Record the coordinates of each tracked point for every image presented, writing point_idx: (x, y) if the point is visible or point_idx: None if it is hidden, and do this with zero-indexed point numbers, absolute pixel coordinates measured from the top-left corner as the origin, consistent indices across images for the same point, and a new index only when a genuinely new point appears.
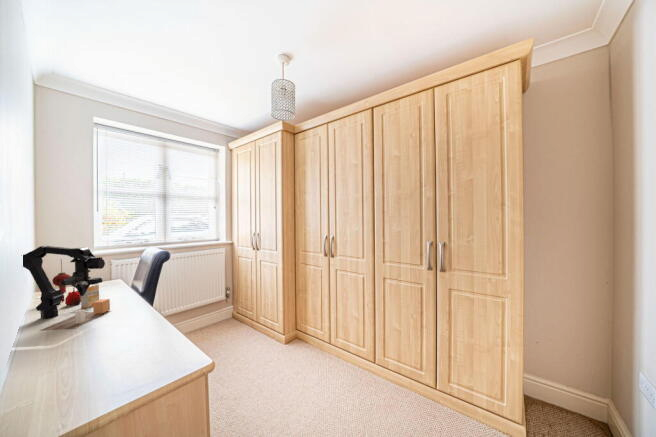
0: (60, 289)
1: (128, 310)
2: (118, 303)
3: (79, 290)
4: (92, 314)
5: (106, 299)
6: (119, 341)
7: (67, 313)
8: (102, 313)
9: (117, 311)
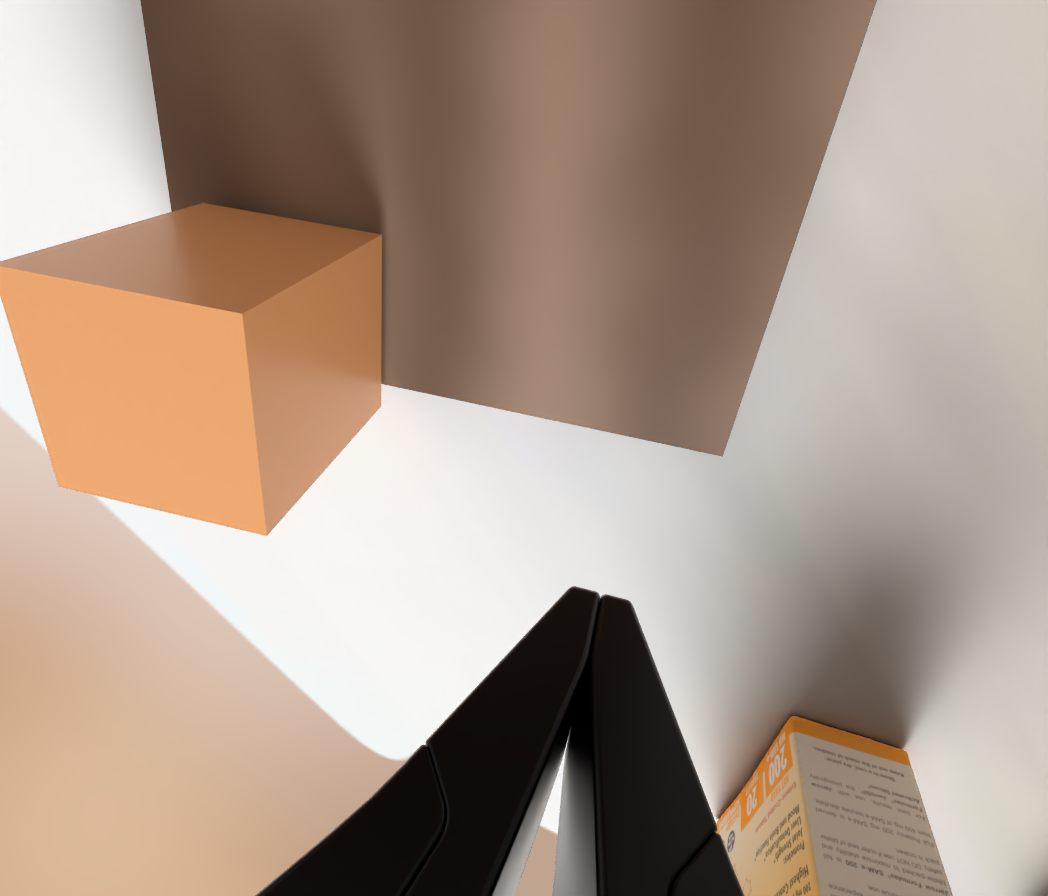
0: None
1: None
2: (429, 717)
3: (618, 834)
4: (413, 239)
5: (96, 468)
6: None
7: (1037, 576)
8: None
9: None
